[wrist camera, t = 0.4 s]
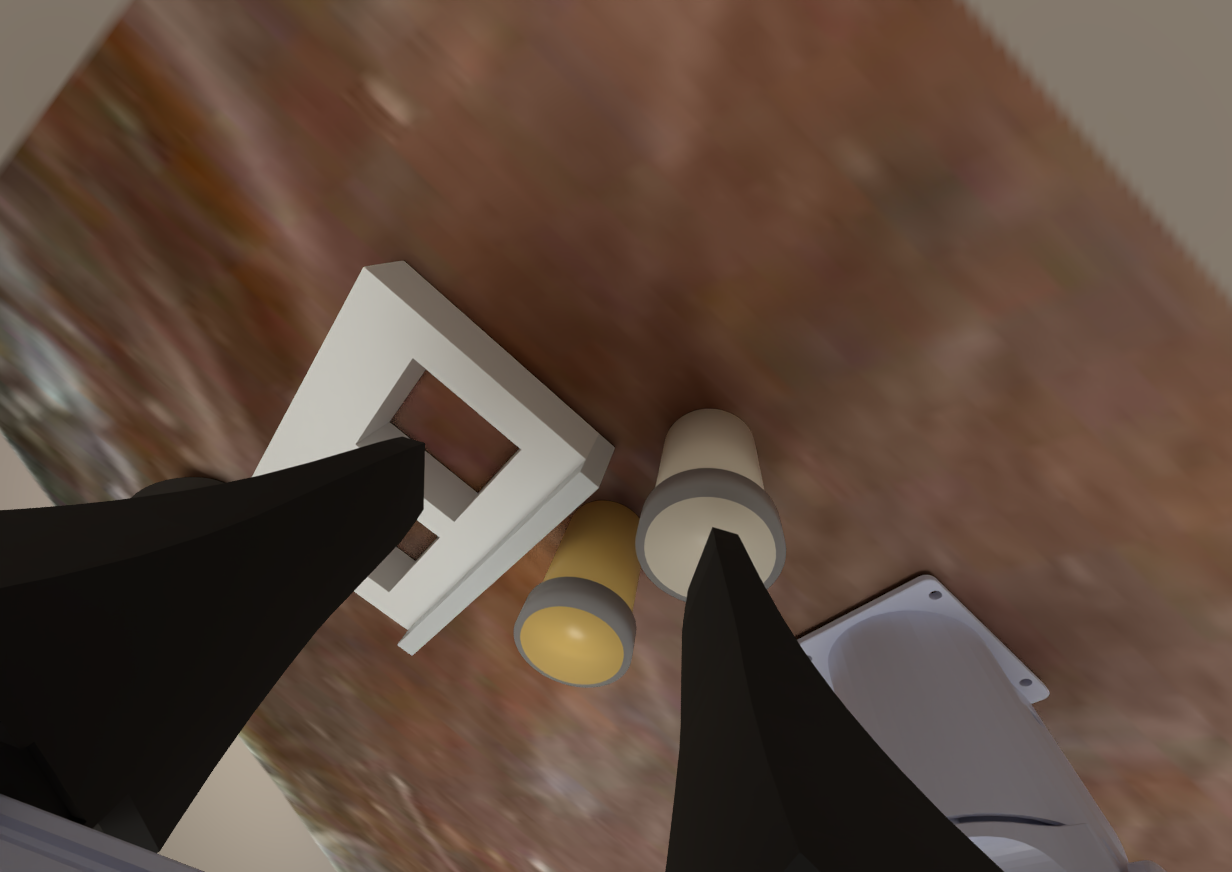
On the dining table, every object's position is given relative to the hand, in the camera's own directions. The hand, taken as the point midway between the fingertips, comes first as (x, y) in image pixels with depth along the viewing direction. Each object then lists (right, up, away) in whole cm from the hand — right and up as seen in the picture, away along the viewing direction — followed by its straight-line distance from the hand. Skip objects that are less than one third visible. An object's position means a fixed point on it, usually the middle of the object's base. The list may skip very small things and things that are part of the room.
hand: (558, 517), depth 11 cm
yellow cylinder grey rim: (+1, -3, +12) cm, 13 cm away
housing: (-8, 0, +12) cm, 15 cm away
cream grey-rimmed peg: (+5, +1, +9) cm, 11 cm away
